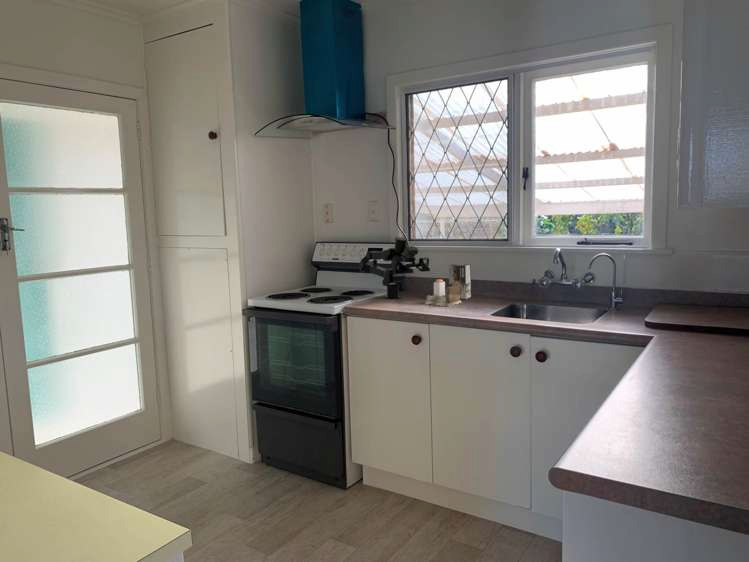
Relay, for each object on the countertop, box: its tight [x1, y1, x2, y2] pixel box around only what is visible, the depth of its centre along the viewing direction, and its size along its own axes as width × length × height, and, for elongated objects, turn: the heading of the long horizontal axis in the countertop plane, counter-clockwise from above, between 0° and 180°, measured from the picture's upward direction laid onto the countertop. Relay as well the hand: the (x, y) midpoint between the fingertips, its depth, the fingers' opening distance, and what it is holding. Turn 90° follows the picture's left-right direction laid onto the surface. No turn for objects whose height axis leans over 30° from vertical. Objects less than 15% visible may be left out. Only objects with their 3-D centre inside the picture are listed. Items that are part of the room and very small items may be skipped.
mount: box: [424, 286, 462, 307], centre depth 268 cm, size 12×11×8 cm
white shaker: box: [431, 278, 446, 297], centre depth 270 cm, size 4×5×9 cm
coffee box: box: [448, 263, 472, 300], centre depth 283 cm, size 9×6×16 cm
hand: (421, 271), depth 266 cm, fingers open, 9 cm apart
